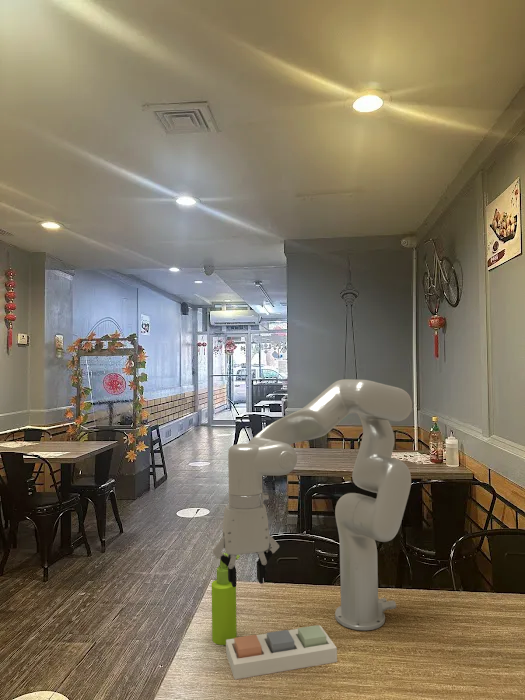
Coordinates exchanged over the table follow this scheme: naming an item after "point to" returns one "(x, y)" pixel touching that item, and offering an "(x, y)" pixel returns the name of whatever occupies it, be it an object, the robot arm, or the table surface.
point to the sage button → (311, 636)
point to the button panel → (280, 657)
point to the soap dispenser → (223, 606)
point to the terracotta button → (247, 646)
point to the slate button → (280, 641)
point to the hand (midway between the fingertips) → (246, 582)
